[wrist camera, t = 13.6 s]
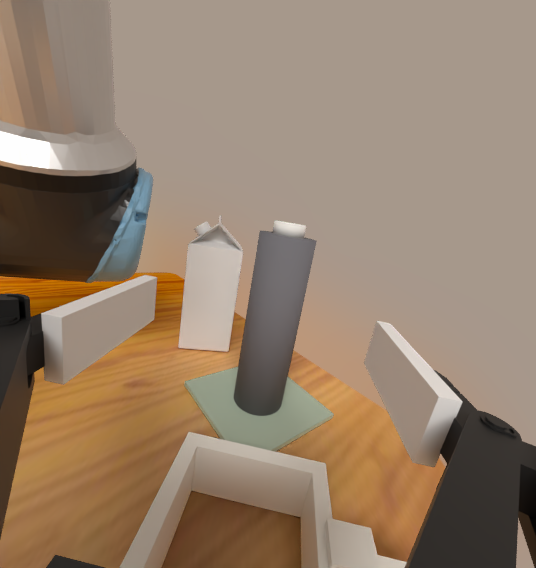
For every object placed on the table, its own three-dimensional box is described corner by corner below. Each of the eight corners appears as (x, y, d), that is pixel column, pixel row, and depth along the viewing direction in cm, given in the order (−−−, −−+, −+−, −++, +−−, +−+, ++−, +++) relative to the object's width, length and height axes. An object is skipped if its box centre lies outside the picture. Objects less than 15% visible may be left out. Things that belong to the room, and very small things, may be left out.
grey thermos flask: (224, 390, 29) (250, 216, 25) (262, 378, 33) (291, 222, 28) (252, 423, 25) (289, 222, 21) (291, 405, 29) (331, 230, 24)
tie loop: (78, 712, 10) (77, 639, 9) (183, 474, 20) (189, 424, 19) (496, 840, 9) (552, 775, 8) (393, 525, 19) (413, 476, 18)
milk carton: (228, 331, 45) (244, 219, 40) (228, 353, 38) (248, 221, 33) (185, 327, 43) (197, 211, 39) (177, 349, 37) (190, 211, 32)
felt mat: (184, 385, 30) (184, 381, 30) (265, 362, 37) (266, 358, 37) (242, 471, 21) (243, 466, 21) (332, 417, 29) (333, 414, 29)
